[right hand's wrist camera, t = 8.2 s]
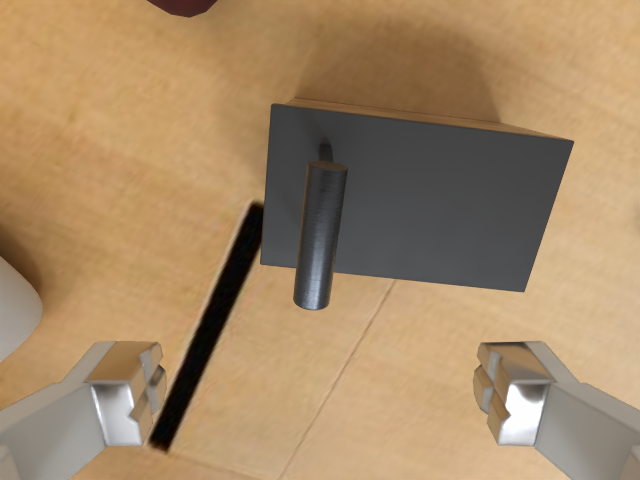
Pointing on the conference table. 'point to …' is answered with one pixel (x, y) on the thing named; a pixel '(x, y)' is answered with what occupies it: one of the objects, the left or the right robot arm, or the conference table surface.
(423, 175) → the lid
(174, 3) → the potato
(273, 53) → the conference table surface
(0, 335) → the grey rounded casing
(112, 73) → the conference table surface
